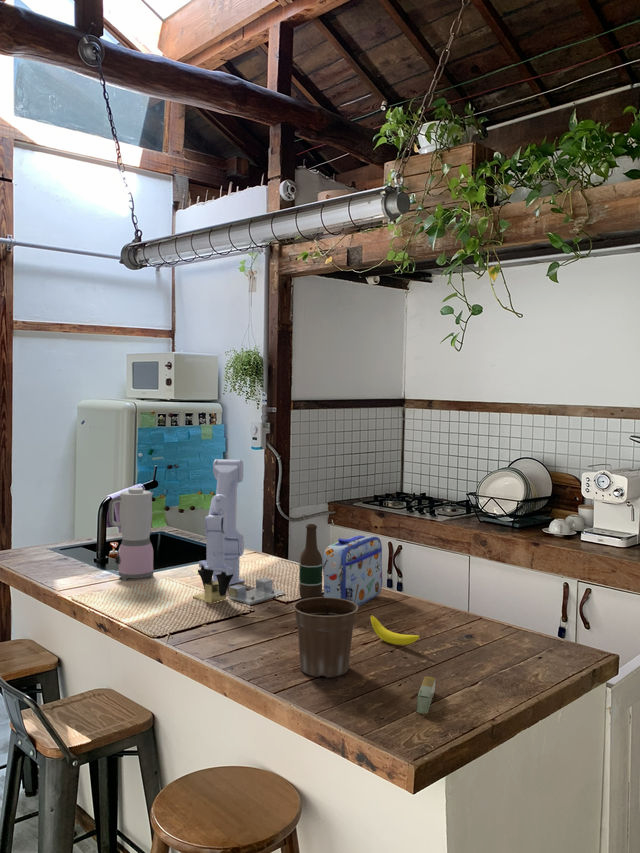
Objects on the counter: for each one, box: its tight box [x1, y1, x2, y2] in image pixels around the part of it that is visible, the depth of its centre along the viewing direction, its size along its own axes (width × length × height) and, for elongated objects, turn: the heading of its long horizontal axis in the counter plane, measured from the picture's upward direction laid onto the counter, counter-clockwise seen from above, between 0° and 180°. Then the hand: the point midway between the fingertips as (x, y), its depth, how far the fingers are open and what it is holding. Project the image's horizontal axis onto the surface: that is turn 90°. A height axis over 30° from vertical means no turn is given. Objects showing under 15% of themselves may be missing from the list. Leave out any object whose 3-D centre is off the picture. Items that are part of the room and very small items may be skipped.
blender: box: [108, 487, 155, 582], centre depth 267 cm, size 16×12×32 cm
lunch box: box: [322, 535, 383, 607], centre depth 241 cm, size 28×10×22 cm, turn 149°
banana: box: [368, 613, 421, 646], centre depth 205 cm, size 3×19×6 cm, turn 40°
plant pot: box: [292, 596, 359, 678], centre depth 186 cm, size 16×16×16 cm
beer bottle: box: [298, 523, 323, 599], centre depth 248 cm, size 8×8×24 cm
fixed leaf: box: [228, 577, 286, 606], centre depth 247 cm, size 10×16×4 cm, turn 138°
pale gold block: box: [192, 580, 227, 604], centre depth 244 cm, size 10×6×6 cm, turn 48°
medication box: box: [415, 675, 436, 714], centre depth 168 cm, size 12×3×4 cm, turn 164°
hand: (215, 592), depth 242 cm, fingers open, 7 cm apart
